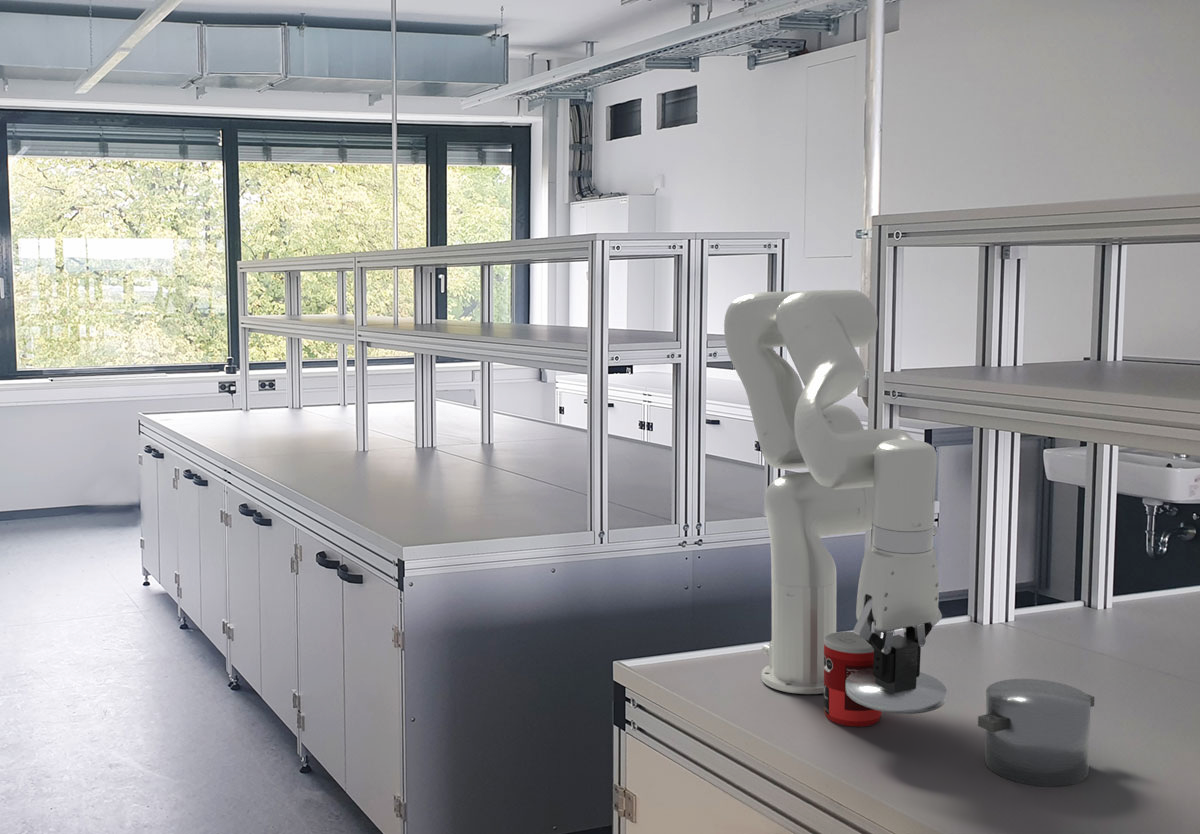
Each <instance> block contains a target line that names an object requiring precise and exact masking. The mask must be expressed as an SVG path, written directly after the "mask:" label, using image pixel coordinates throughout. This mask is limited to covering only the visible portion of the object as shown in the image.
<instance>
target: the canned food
mask: <svg viewBox="0 0 1200 834" xmlns="http://www.w3.org/2000/svg"><path fill="white" fill-rule="evenodd" d="M873 663H874V648H872V647H870V644H869V643H868V642H867V641H866V640H865V639H864V638H862V637H860V636H858V635H856V634H854V632H853V631H836V633H832V634H829V635H827V636H826V637H825V641H824V693H823V710H824V711H823V712H824V714H825V717H826V718H827V719H828V720H829V721H830V722H832V723H835V724H836V725H840V724H841V726H844V725H845V726H846V727H852V726H855V727H856V728H857V727H858V728H862V727H863V726H864V727H870V726H873V725H876V724H877V723H879V721H880V720H881V717H882V712H883V711H878V710H874V709H871V708H868V707H865V706H863V705H860V704H858V703H856V702H855V701H853V700H852V699H851V698H850V697H849V696H848V695H847V693H846V691H845V686H846V679H847V677H848V676H849V675H850V674H852V673H854V672H856V671H859V670H862V669H867V668H873ZM875 723H876V724H875ZM869 725H870V726H869ZM861 726H862V727H861Z"/></svg>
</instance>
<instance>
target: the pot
mask: <svg viewBox="0 0 1200 834" xmlns="http://www.w3.org/2000/svg"><path fill="white" fill-rule="evenodd" d="M985 692H986V694H985V714H982V715H978V717H977V726H978V727H979V728H981V729H984V731H985V737H984V739H985V740H984V741H985V742H984V762H985V765H986V767H987V768H988V770H990V771H991V772H993V773H994V774H996V775H998V776H999V777H1002V778H1004V779H1006V780H1010V781H1013V782H1016V783H1021V784H1024V785H1030V786H1036V787H1038V786H1039V787H1050V788H1051V787H1054V788H1055V787H1063V786H1064V787H1067V786H1072V785H1075V784H1079V783H1081V782H1083V781H1084V780H1086V778H1087V777H1088V776H1089V768H1090V767H1089V765H1090V763H1089V761H1090V734H1091V733H1090V732H1091V731H1090V730H1091V708H1092V707H1093V708H1094V706H1095V696H1093V695H1091V694H1087V693H1085V692H1084V691H1083V690H1080V689H1079V688H1076V687H1073V686H1071V685H1069V684H1064V683H1060V682H1057V681H1052V680H1051V681H1050V680H1045V679H1038V678H1037V679H1036V678H1013V679H1011V678H1009V679H1004V680H1000V681H996V682H994V683H992V684H989V685H988V686H987V688H986V691H985Z"/></svg>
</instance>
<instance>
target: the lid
mask: <svg viewBox="0 0 1200 834" xmlns="http://www.w3.org/2000/svg"><path fill="white" fill-rule="evenodd" d="M880 638H881V639H882V640H883V637H880ZM890 652H891V653H893V654H894V673H893V682H892V683H889V684H888V683H886V682H884V681H882V680H880V679H878V678H876V677H874V675H873V668H867V669H862V670H859V671H856V672H854V673H852V674H850V675H849V676H848V677H847V679H846V686H845V691H846V693H847V695H848V696H849V697H850V698H851V699H852V700H853V701H855V702H856V703H858V704H860V705H863V706H865V707H868V708H871V709H874V710H878V711H882V712H883V713H889V714H890V713H891V714H899V715H901V714H902V715H912V714H913V715H915V714H923V713H929V712H932V711H935V710H938V709H940V708H941V707H943V706H944V705H945V703H946V701H947V693H948V691H947V688H946V685H945V684H944V683H943V682H942V681H941V680H939V679H938V678H936V677H934V676H932V675H930V674H926V673H925V672H921V671H920V675H919V677H917V658H918V643H916V642H914V641H911V640H909V639H907V638H905V637H904V635H900V634H897V635H893V641H892V647H891V651H890Z"/></svg>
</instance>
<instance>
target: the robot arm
mask: <svg viewBox="0 0 1200 834" xmlns="http://www.w3.org/2000/svg"><path fill="white" fill-rule="evenodd" d="M723 321H724V324H723V327H724V328H723V331H724V332H723V334H724V335H723V336H724V342H725V347H726V349H727V355H729V356H728V357H729V359H730V361H731V363H732V366H733V368H734V370H735V371H736V373H737V376H738V377H739V379H740V381H741V383H742V386H743V387H744V390H745V393H746V396H747V400H748V404H749V407H750V412H751V416H752V420H753V424H754V429H755V433H756V436H757V437H756V438H757V440H758V443H759V445H758V446H759V447H760V451H761V454H762V456H763V458H764V460H765V462H766V463H767V464H768V466H770V467H772V468H774V469H779V470H795V469H808V471H801V472H794V473H792V472H791V473H789V474H784V475H781V476H779V477H777V478H776V479H774V480H773V481H772V482H771V483H770V484H769V485H768V486H767V489H766V490H765V494H764V511H765V516H766V522H767V528H768V534H769V541H770V558H771V559H770V561H771V563H770V564H771V565H770V566H771V572H770V574H771V575H770V576H771V577H770V578H771V640H770V642H769V645H767V644H764V645H763V646H762V649H761V650H762V651H761V652H762V653H763V654H765V655H767V656H769V658H768V659H769V660H768V661H769V662H768V665H766V666H765V667H763V668H762V670H761V681H762V682H763V683H764V684H765V686H768V687H769V688H772V689H773V690H777V691H780V692H783V693H784V692H785V693H790V694H799V695H819V694H820V695H821V694H824V641H825V637H826V636H827V635H829V634H832V633H837V567H836V566H837V565H836V563H835V560H834V557H833V556H832V555H831V553H830V552H829V551H828V549H827V548H826V547H825V545H824V544H823V542H822V537H828V536H833V535H835V536H836V535H845V534H855V533H862V532H867V531H870V530H871V541H870V542H871V543H870V547H868V548H865V552H864V554H863V558H862V562H861V567H860V572H859V579H858V583H857V584H858V585H857V597H856V605H855V606H856V607H855V608H856V611H855V617H856V620H857V621H856V623H855V625H854V628H853V630H852V632H854V634H856V635H858V636H860V637H862V638H864V639H865V640H866V641H867V642H868V643H869V644H870V647H872V648H874V663H873V675H874V677H876V678H878V679H880V680H882V681H884V682H886V683H888V684H889V683H892V682H893V673H894V654H893V653H891V652H890V651H891V647H892V641H893V636H895V635H894V634H895V631H896V630H900V629H903V637H905V638H907V639H909V640H911V641H914V642H916V643H918V658H917V677H919V675H920V672H921V671H920V669H921V653H922V652H921V651H922V649H921V647H924V646H925V644H926V640H927V639H926V638H927V636H928V635H929V634H930V632H931V631H932V629H933V628H934V627H935V626H936V625H937V624H938V623H939V622H940V621H941V620H942V618H943V614H942V612H941V610H940V608H939V600H940V599H939V596H940V595H939V593H940V588H939V587H940V585H939V583H940V581H939V567H938V560H937V553H936V548H935V547H933V545H934V544H933V543H934V536H935V535H936V534H937V532H938V528H937V526H936V525H935V524H934V523H935V521H934V520H935V507H936V506H935V504H936V480H937V479H936V478H937V463H938V458H937V457H938V456H937V455H938V454H937V451H936V449H935V448H934V446H933V445H931V444H930V443H928V442H925V441H922V440H916V439H915V438H913V437H912V435H910V434H909V433H907V432H906V431H904V430H901V429H898V428H876V429H875V428H874V429H872V428H871V429H870V428H869V429H867V428H866V429H864V426H863V424H862V421H861V419H860V418H859V416H858V415H857V413H856V412H854V410H853V409H851V408H850V407H848V406H846V405H843V404H837V403H838V402H840V401H841V400H844V399H845V398H846V397H848V396H849V395H850V394H852V393H853V392H854V391H855V390H856V389H857V388H858V387H859V386H860V384H861V383H862V382H863V379H864V376H865V366H864V364H863V361H862V359H861V357H860V356H859V355H860V354H858V352H857V350H856V348H862V347H865V346H867V345H868V344H870V343H871V342H872V341H873V340H874V338H875V336H876V334H877V331H878V324H879V323H878V315H877V310H876V307H875V306H874V304H873V302H872V301H871V299H870V298H869V297H868V296H867V295H866V294H864V293H863V292H862V291H859V290H856V289H827V290H825V289H824V290H806V291H805V290H798V291H761V292H754V293H748V294H745V295H742V296H739V297H737V298H735V299H734V300H733V301H732V302H731V303H730V304H729V305H728V307H727V309H726V312H725V315H724V320H723ZM779 347H780V348H781V347H782V348H786V350H787V351H788V353H789V356H790V358H791V360H792V362H793V364H794V367H795V368H796V370H795V369H794V367H792V365H791V364H790V363H789V362H788V361H787V360H786V359H785V358H784V357H782V356H780V355H779V354H778V353H777V352H776V351H775V349H774V348H779ZM796 371H797V372H796ZM802 383H803V384H802ZM803 385H804V388H803ZM881 638H883V640H882V639H881Z"/></svg>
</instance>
